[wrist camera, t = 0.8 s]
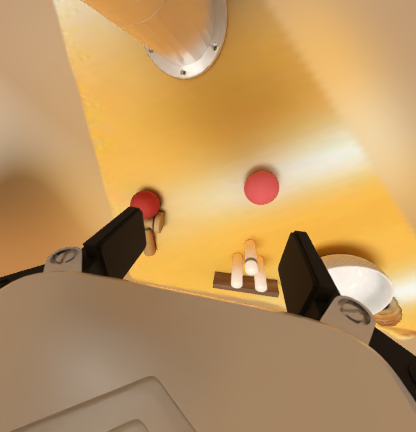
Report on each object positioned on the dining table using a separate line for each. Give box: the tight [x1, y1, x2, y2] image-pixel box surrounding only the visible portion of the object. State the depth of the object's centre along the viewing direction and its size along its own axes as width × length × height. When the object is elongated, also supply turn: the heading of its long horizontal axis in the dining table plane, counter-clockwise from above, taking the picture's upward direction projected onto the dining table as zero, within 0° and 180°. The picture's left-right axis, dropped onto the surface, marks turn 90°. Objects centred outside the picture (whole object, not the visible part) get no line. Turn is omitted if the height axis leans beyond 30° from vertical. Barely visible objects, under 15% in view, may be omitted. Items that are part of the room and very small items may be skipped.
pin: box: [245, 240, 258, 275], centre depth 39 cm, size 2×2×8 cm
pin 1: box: [231, 253, 243, 288], centre depth 41 cm, size 2×2×8 cm
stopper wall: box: [213, 272, 279, 297], centre depth 46 cm, size 2×16×4 cm, turn 90°
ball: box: [244, 171, 279, 205], centre depth 32 cm, size 6×6×6 cm
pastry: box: [373, 298, 402, 326], centre depth 44 cm, size 9×7×4 cm
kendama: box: [130, 191, 164, 256], centre depth 42 cm, size 8×6×18 cm
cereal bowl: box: [320, 254, 394, 315], centre depth 39 cm, size 17×17×7 cm
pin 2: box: [254, 256, 267, 292], centre depth 40 cm, size 2×2×8 cm
